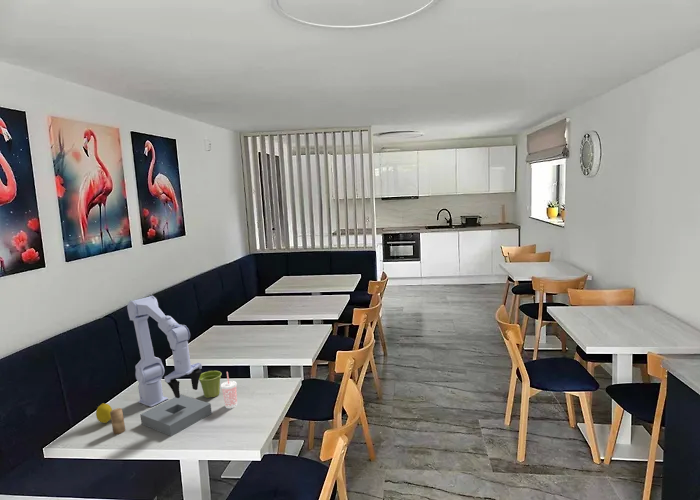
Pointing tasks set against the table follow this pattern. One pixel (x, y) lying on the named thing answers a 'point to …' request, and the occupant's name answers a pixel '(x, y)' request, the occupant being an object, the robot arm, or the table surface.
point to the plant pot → (210, 383)
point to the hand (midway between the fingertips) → (186, 393)
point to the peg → (117, 421)
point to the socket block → (175, 414)
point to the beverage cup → (229, 393)
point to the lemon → (103, 413)
